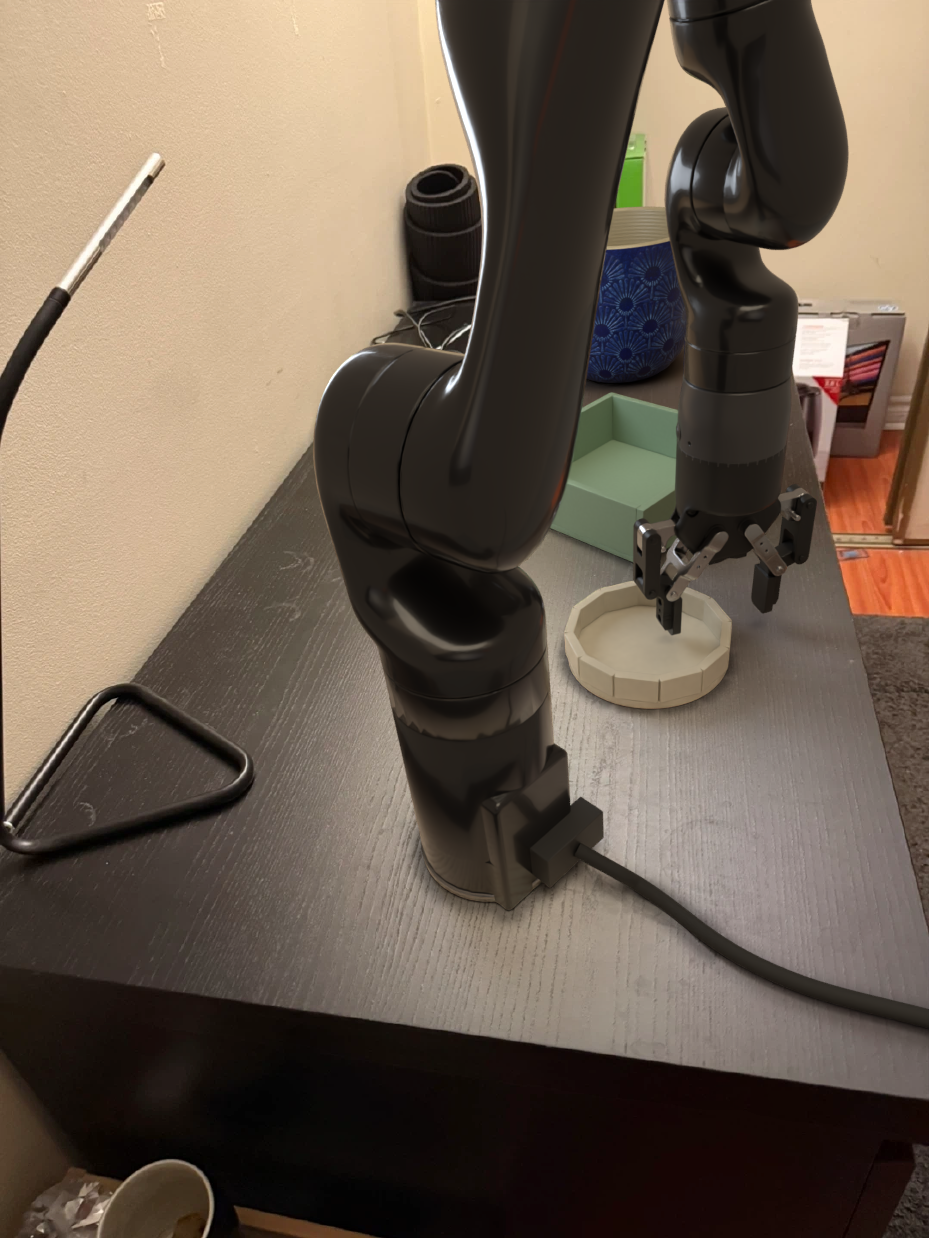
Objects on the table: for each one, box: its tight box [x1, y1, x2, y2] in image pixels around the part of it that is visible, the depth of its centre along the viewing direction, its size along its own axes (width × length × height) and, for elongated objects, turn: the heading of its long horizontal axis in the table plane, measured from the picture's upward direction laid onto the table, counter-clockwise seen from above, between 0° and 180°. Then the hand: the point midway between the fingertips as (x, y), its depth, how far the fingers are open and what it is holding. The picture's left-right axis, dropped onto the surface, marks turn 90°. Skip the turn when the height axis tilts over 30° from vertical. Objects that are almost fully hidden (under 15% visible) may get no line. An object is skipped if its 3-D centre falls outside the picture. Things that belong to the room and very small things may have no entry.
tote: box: [550, 391, 678, 563], centre depth 89 cm, size 20×20×6 cm
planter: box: [586, 206, 686, 384], centre depth 114 cm, size 21×21×19 cm
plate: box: [563, 580, 733, 710], centre depth 69 cm, size 13×13×3 cm
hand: (716, 617), depth 69 cm, fingers open, 7 cm apart
